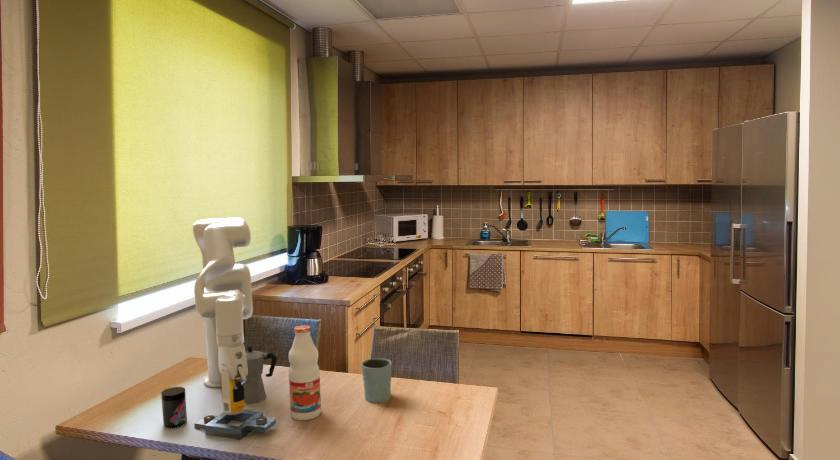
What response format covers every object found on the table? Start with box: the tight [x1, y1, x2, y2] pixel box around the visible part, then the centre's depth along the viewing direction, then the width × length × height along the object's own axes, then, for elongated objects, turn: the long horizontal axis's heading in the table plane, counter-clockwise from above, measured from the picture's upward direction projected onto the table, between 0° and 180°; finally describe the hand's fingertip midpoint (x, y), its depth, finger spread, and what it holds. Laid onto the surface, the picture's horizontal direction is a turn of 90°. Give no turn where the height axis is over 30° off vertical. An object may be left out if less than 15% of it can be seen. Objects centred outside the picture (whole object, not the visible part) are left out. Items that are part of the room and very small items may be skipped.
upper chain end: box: [204, 409, 277, 435], centre depth 168 cm, size 18×12×2 cm, turn 74°
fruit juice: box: [288, 324, 322, 421], centre depth 177 cm, size 9×9×28 cm
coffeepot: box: [244, 345, 278, 405], centre depth 190 cm, size 15×9×18 cm, turn 92°
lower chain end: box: [193, 414, 253, 441], centre depth 170 cm, size 18×12×2 cm, turn 74°
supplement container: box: [160, 386, 188, 429], centre depth 173 cm, size 7×7×10 cm
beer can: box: [221, 364, 246, 415], centre depth 168 cm, size 6×6×15 cm
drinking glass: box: [361, 357, 393, 404], centre depth 190 cm, size 10×10×12 cm
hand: (233, 397), depth 169 cm, fingers closed on beer can, 6 cm apart
